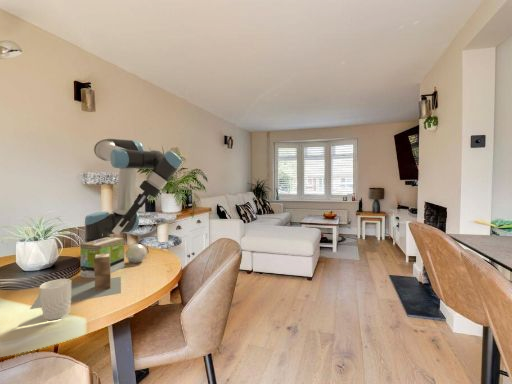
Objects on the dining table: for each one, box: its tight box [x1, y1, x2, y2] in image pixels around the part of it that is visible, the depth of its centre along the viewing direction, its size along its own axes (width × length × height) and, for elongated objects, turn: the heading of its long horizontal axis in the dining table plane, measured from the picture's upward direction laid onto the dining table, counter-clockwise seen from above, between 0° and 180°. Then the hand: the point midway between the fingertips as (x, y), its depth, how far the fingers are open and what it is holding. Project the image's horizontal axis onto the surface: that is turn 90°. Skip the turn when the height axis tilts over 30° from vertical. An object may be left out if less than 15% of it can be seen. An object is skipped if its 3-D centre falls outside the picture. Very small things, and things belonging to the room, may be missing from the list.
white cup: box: [38, 278, 73, 322], centre depth 82 cm, size 8×8×10 cm
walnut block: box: [94, 253, 112, 291], centre depth 102 cm, size 5×5×12 cm
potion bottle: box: [125, 243, 150, 264], centre depth 137 cm, size 9×10×15 cm
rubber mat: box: [29, 276, 122, 310], centre depth 99 cm, size 26×18×1 cm
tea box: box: [80, 236, 125, 279], centre depth 119 cm, size 15×10×15 cm, turn 168°
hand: (115, 232), depth 104 cm, fingers closed
